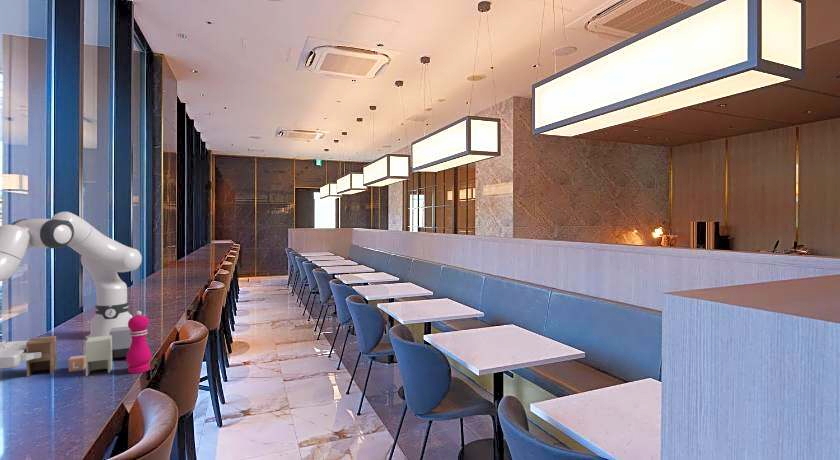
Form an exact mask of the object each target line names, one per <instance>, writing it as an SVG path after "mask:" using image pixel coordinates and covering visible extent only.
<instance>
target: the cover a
mask: <svg viewBox="0 0 840 460" xmlns="http://www.w3.org/2000/svg"><path fill="white" fill-rule="evenodd" d="M27 341H28V342H26V353H35V352H40V351H41V352H42V356H41V358H35V359H31V360H27V361H26V378H27V377H30V376H31V375H32V374H33V372H39V371H47V370H49V375H50V374H53V373H54V372H55V370H57V336H56V335H52V336H40V337H31V338H30V339H29V340H27Z"/></svg>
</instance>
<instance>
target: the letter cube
mask: <svg viewBox="0 0 840 460" xmlns="http://www.w3.org/2000/svg"><path fill="white" fill-rule="evenodd" d="M67 362H68V372H76V371H84V370H85V369H86V354H85V355H75V356H73V355H72V356H70V357H69V359H68V361H67Z"/></svg>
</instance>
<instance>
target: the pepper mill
mask: <svg viewBox="0 0 840 460" xmlns="http://www.w3.org/2000/svg"><path fill="white" fill-rule="evenodd" d="M142 313H143V312H142V311H141V310H137V311H135V315H134V316H132V318H131V319H130V320H129V321H128V327H129V329H131V331H130V336H131V338H132V341H131V346H130V349H129V351H128V353H127V356H126V357H125V361H126V364H128V367H127V373H128V374H133V375H135V374H141V373H145V372H148V371H150V370H151V363H149V362H150V361H151V360H152V358H153V357H152V352H151V350H150V348H149V345H148V342H147V334H148V329H147V328H148V327H149V325H150V320H149V318H148V317H147V316H146V315H143V314H142Z"/></svg>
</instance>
